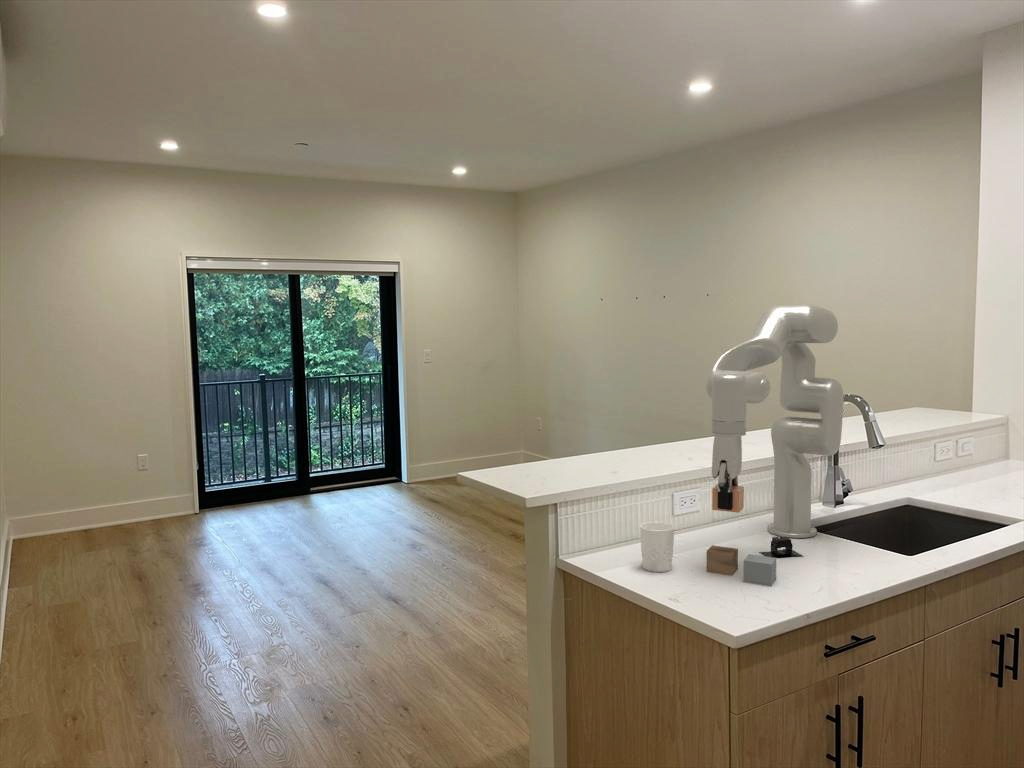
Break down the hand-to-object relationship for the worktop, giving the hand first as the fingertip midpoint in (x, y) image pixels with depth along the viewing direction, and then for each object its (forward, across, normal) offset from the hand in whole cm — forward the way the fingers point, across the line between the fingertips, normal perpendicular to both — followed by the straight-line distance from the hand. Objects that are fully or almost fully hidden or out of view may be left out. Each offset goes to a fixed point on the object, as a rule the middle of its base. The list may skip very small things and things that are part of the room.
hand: (727, 505), depth 170 cm
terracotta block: (+1, 0, 0) cm, 1 cm away
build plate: (+16, -19, +9) cm, 26 cm away
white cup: (+16, +5, -15) cm, 22 cm away
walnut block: (+16, 0, -1) cm, 16 cm away
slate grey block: (+16, +3, +8) cm, 18 cm away
